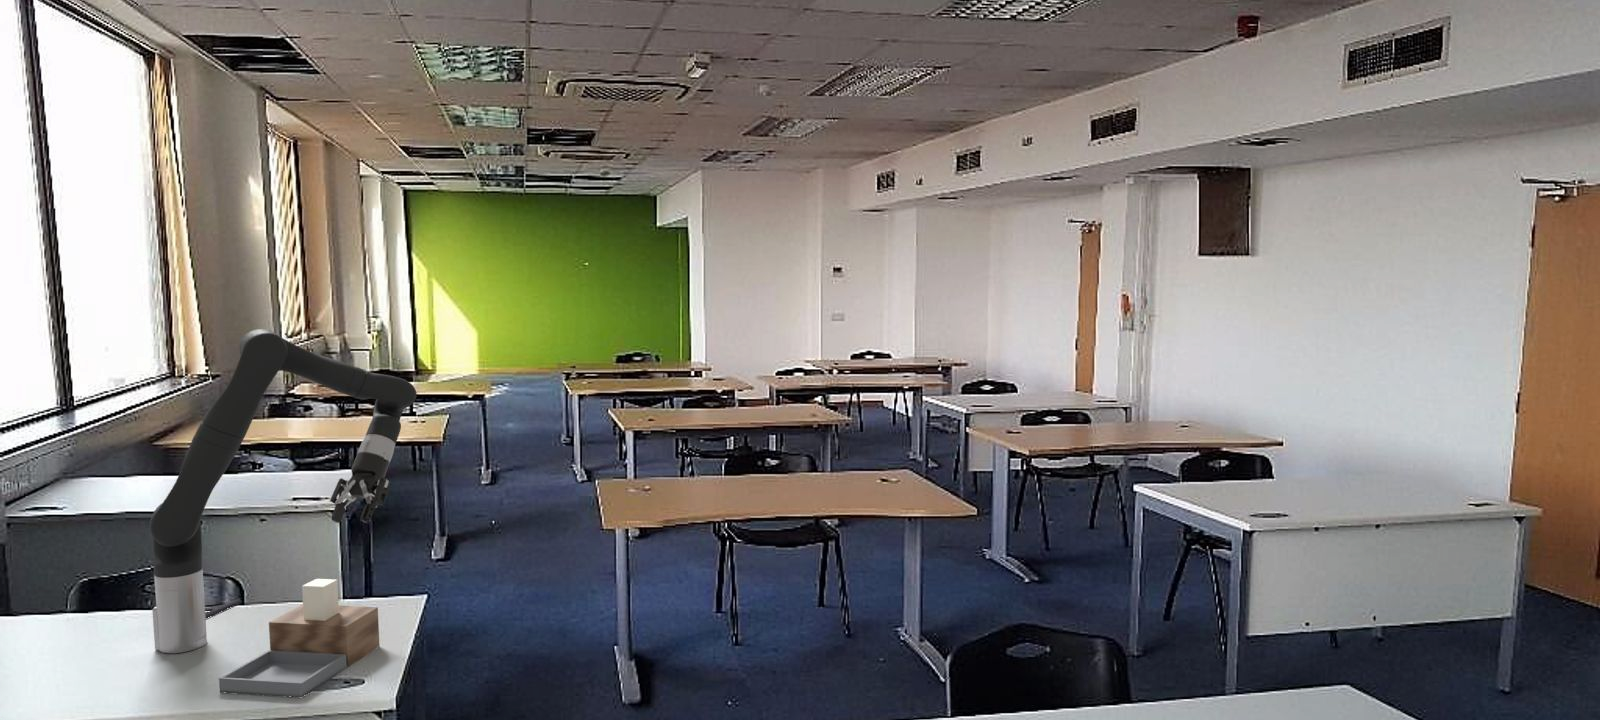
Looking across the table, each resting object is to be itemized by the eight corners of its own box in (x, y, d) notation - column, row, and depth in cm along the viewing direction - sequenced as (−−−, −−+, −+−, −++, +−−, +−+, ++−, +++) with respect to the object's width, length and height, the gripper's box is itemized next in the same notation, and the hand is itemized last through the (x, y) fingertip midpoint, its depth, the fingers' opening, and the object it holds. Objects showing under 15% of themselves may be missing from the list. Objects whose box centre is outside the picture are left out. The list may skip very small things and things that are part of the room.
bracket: (191, 602, 260) (190, 591, 260) (242, 605, 257) (241, 594, 257) (145, 622, 246) (144, 610, 245) (198, 625, 243) (198, 614, 243)
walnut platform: (271, 662, 218) (268, 622, 217) (306, 642, 230) (304, 603, 229) (348, 667, 215) (346, 626, 214) (379, 646, 227) (377, 607, 226)
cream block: (303, 619, 219) (302, 585, 218) (318, 611, 223) (316, 578, 223) (325, 620, 218) (323, 586, 217) (338, 612, 223) (337, 579, 222)
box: (219, 692, 203) (218, 678, 202) (269, 663, 217) (268, 650, 217) (302, 698, 200) (301, 683, 200) (346, 668, 215) (346, 654, 214)
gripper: (339, 451, 240) (314, 515, 232) (386, 449, 234) (362, 515, 227) (361, 464, 246) (337, 527, 238) (407, 463, 240) (384, 527, 232)
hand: (349, 521), depth 232 cm, fingers open, 8 cm apart
